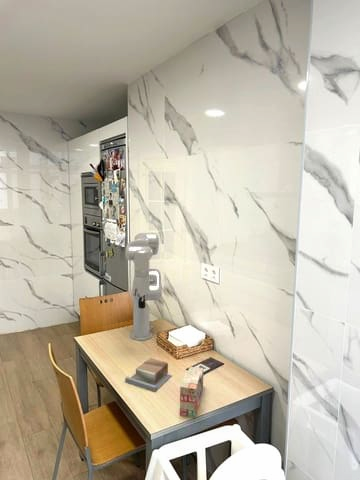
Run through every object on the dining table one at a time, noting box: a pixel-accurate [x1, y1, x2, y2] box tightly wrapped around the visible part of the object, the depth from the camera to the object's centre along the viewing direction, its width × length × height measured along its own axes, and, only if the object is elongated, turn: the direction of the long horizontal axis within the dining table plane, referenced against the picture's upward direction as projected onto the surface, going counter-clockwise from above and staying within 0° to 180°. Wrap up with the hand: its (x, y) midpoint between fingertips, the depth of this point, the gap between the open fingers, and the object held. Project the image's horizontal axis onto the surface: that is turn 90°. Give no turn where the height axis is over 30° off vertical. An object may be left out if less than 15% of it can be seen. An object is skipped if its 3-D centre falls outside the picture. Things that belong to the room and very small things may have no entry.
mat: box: [124, 372, 173, 393], centre depth 159 cm, size 15×16×2 cm
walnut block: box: [135, 357, 169, 385], centre depth 161 cm, size 5×10×12 cm
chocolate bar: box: [185, 357, 225, 376], centre depth 171 cm, size 9×1×18 cm
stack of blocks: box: [179, 366, 204, 418], centre depth 142 cm, size 21×6×12 cm, turn 168°
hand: (141, 307), depth 178 cm, fingers closed
